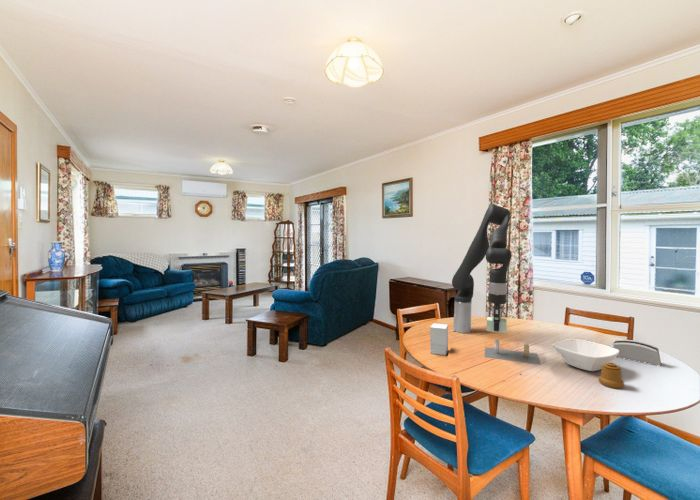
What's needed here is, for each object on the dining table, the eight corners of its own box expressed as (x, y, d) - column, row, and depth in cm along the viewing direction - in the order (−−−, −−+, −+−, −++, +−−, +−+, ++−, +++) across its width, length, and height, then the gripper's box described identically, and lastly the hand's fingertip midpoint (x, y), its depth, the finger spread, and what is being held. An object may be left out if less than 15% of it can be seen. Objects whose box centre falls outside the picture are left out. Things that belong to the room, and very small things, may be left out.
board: (484, 360, 149) (484, 343, 149) (485, 350, 162) (485, 334, 161) (541, 368, 140) (541, 350, 140) (537, 356, 153) (537, 340, 153)
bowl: (598, 381, 128) (599, 359, 127) (545, 363, 146) (546, 343, 146) (626, 371, 137) (627, 350, 137) (573, 354, 156) (573, 336, 155)
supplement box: (448, 350, 162) (448, 324, 161) (445, 355, 155) (446, 328, 154) (432, 348, 165) (433, 322, 164) (429, 353, 158) (430, 326, 157)
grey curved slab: (661, 362, 146) (661, 343, 143) (660, 369, 143) (661, 349, 140) (612, 353, 158) (612, 335, 155) (611, 359, 154) (610, 340, 151)
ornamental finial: (596, 384, 125) (601, 378, 130) (621, 391, 120) (625, 385, 125) (596, 363, 125) (602, 358, 130) (622, 369, 119) (626, 364, 124)
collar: (486, 330, 152) (486, 319, 151) (487, 327, 157) (487, 316, 157) (506, 333, 149) (506, 321, 148) (505, 329, 154) (506, 318, 154)
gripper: (488, 289, 160) (487, 324, 161) (487, 294, 147) (486, 332, 148) (506, 290, 157) (505, 325, 158) (506, 295, 144) (505, 334, 145)
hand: (496, 328), depth 153 cm, fingers closed on collar, 6 cm apart
